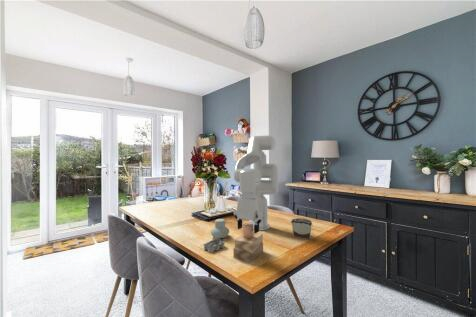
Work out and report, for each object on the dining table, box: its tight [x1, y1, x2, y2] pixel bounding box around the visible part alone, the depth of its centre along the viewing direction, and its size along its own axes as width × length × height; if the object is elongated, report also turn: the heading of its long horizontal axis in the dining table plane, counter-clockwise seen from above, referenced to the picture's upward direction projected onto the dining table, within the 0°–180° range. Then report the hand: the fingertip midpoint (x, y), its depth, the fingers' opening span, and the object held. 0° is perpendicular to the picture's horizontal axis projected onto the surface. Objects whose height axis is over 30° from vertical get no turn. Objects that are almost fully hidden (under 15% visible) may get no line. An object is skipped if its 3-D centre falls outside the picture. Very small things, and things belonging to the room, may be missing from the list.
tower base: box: [232, 243, 264, 263], centre depth 110 cm, size 9×13×4 cm
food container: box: [290, 217, 313, 240], centre depth 132 cm, size 12×6×10 cm, turn 59°
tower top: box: [234, 231, 264, 253], centre depth 110 cm, size 9×13×4 cm
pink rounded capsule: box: [242, 222, 254, 239], centre depth 109 cm, size 5×5×6 cm
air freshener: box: [210, 218, 230, 239], centre depth 134 cm, size 11×8×10 cm
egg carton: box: [202, 237, 225, 253], centre depth 118 cm, size 11×8×4 cm
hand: (248, 230), depth 110 cm, fingers open, 9 cm apart
